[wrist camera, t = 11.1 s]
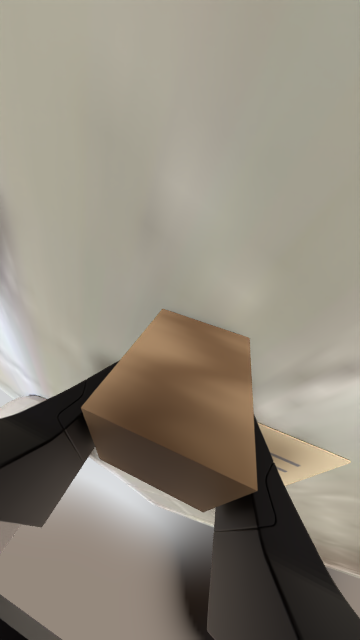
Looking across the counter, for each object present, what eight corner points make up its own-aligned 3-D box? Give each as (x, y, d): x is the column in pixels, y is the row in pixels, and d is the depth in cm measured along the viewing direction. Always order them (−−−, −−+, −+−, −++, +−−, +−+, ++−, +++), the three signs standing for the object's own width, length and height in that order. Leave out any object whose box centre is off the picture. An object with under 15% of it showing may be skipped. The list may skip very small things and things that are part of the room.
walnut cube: (249, 338, 9) (257, 490, 4) (219, 389, 12) (202, 512, 7) (162, 308, 9) (80, 407, 5) (154, 363, 12) (99, 458, 8)
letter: (350, 460, 12) (351, 462, 12) (252, 496, 21) (252, 497, 21) (192, 395, 14) (191, 397, 13) (166, 455, 23) (166, 456, 23)
